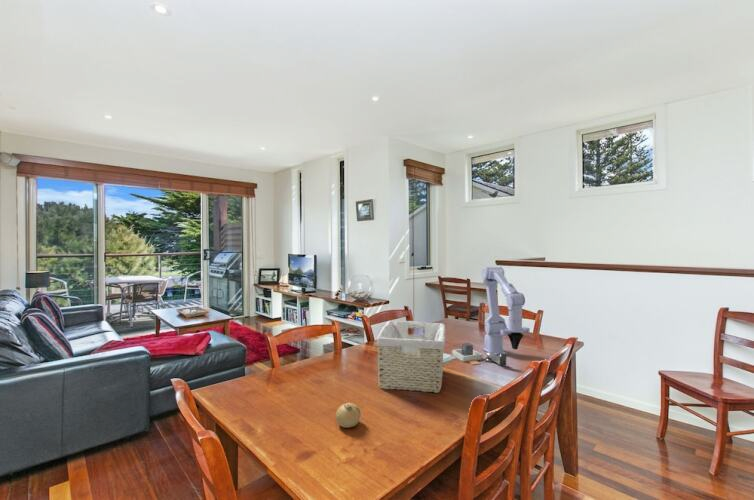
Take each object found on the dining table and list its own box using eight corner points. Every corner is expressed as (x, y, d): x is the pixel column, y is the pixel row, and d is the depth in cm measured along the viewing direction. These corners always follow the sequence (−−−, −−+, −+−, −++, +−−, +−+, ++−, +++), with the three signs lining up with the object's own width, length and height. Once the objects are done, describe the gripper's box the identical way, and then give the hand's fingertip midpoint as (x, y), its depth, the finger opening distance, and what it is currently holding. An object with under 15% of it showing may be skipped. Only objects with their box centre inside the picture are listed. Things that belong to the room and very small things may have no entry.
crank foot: (483, 359, 171) (483, 357, 171) (491, 358, 172) (492, 356, 172) (489, 363, 166) (489, 361, 166) (498, 362, 168) (498, 359, 167)
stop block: (461, 355, 176) (461, 343, 175) (468, 354, 177) (468, 342, 177) (465, 357, 172) (465, 345, 172) (472, 357, 173) (473, 345, 173)
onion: (330, 424, 112) (330, 402, 112) (349, 415, 118) (349, 394, 118) (346, 434, 107) (346, 411, 106) (365, 424, 112) (365, 402, 112)
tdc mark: (468, 361, 168) (468, 361, 168) (475, 361, 169) (475, 360, 169) (473, 364, 164) (473, 364, 164) (480, 363, 165) (480, 363, 165)
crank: (485, 357, 170) (485, 347, 170) (491, 356, 171) (491, 347, 171) (501, 366, 159) (502, 355, 159) (507, 365, 160) (507, 355, 160)
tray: (452, 354, 178) (452, 349, 178) (470, 352, 181) (470, 347, 181) (463, 361, 168) (463, 356, 168) (482, 359, 171) (482, 354, 171)
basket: (445, 396, 132) (445, 339, 131) (374, 390, 137) (374, 335, 136) (445, 370, 158) (446, 322, 157) (386, 365, 163) (386, 319, 163)
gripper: (507, 322, 156) (507, 353, 156) (534, 320, 160) (534, 349, 161) (497, 319, 162) (497, 348, 163) (523, 316, 167) (523, 345, 167)
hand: (514, 348), depth 162 cm, fingers closed
